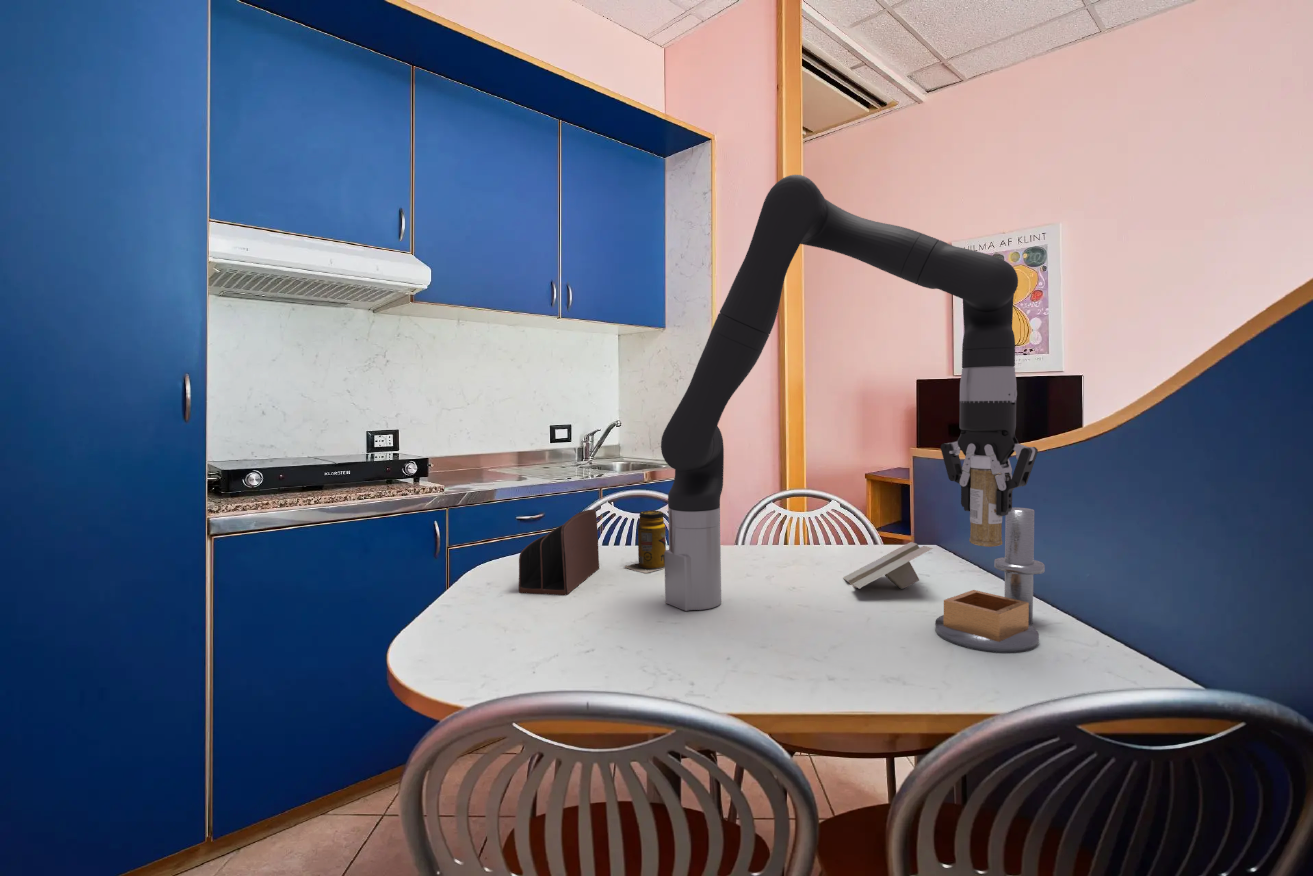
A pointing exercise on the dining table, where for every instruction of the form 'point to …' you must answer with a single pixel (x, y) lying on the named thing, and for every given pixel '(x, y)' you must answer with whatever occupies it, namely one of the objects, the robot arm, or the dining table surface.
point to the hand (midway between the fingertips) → (986, 512)
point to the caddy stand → (999, 598)
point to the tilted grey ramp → (890, 567)
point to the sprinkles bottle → (984, 504)
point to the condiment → (650, 542)
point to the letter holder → (561, 557)
